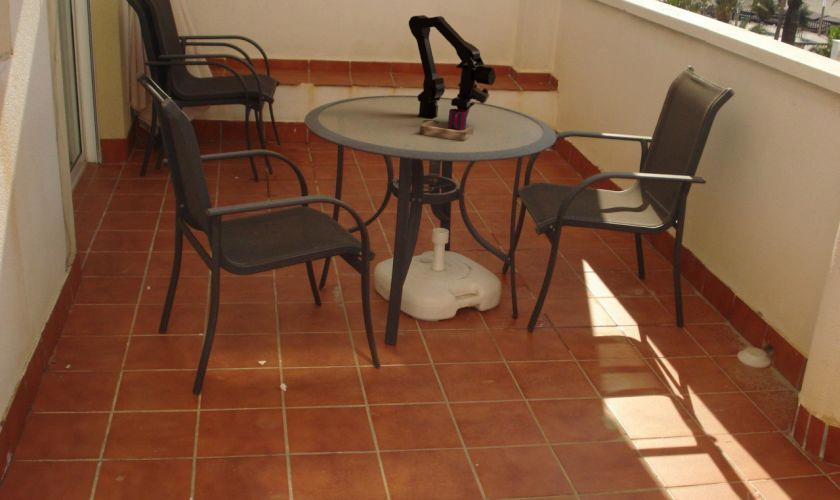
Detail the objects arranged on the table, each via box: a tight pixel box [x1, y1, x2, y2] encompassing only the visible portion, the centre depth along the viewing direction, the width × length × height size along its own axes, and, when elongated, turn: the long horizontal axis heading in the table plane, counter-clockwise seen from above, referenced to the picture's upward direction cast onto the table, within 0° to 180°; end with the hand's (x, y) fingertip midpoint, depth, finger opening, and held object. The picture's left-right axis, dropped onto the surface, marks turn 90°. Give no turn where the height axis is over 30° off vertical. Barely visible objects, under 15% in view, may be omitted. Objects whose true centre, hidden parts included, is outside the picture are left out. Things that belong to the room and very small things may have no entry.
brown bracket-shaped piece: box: [419, 120, 474, 142], centre depth 335 cm, size 17×11×3 cm, turn 71°
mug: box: [447, 108, 468, 131], centre depth 344 cm, size 7×10×7 cm
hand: (463, 121), depth 354 cm, fingers closed
